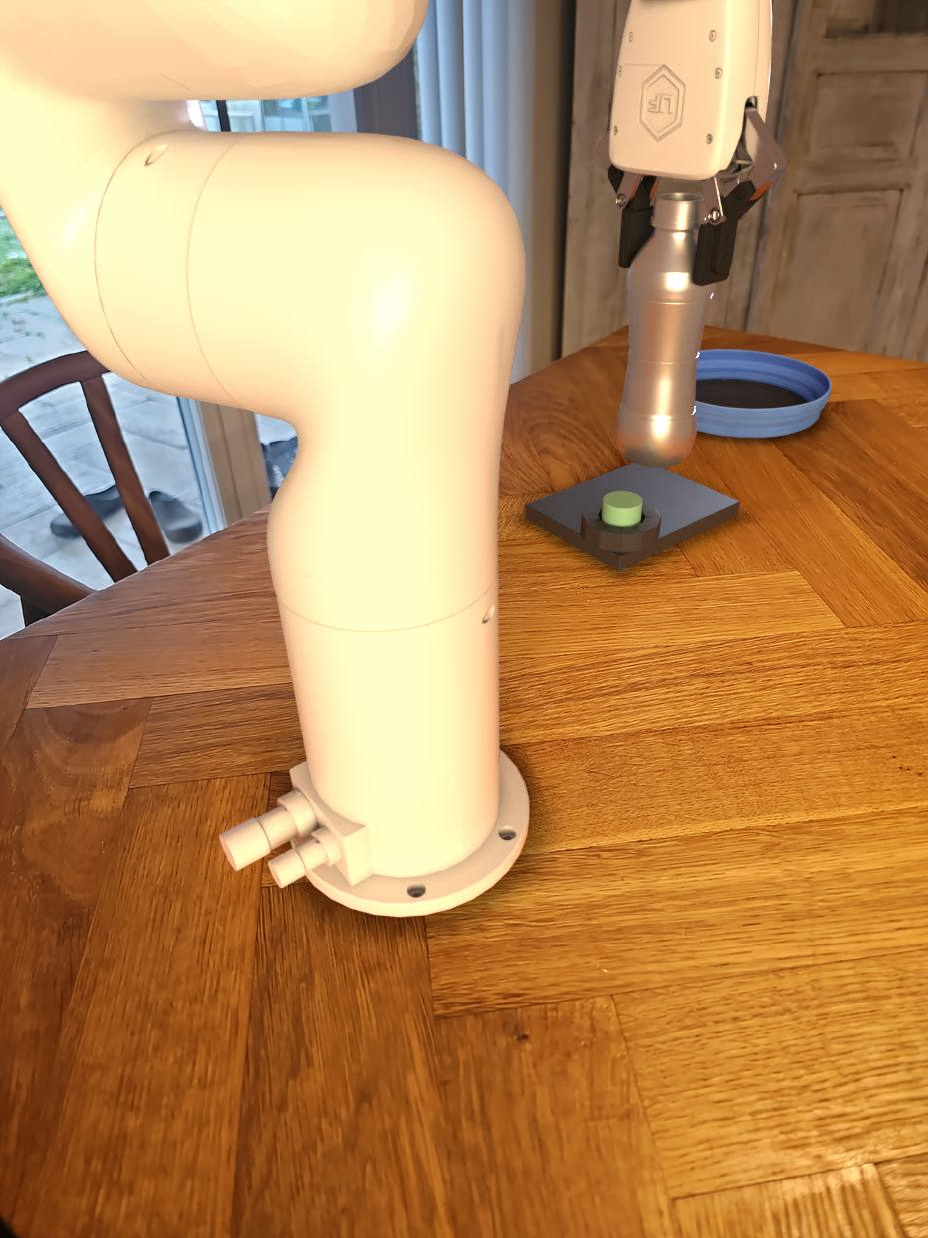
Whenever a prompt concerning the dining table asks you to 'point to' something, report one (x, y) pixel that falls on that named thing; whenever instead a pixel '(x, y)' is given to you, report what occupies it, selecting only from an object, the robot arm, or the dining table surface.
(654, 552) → the scale
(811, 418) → the bowl
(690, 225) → the silver metal bottle
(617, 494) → the button
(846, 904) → the dining table surface
